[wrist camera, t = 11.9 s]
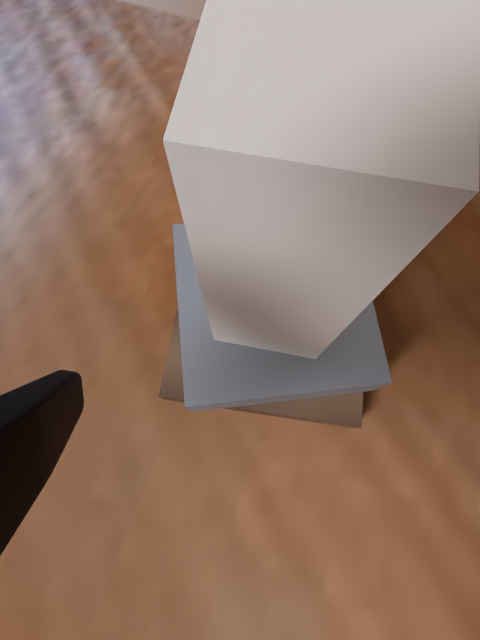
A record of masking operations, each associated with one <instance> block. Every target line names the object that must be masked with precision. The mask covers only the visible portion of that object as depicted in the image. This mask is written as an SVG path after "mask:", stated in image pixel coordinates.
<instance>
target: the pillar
mask: <svg viewBox="0 0 480 640" xmlns="http://www.w3.org/2000/svg"><path fill="white" fill-rule="evenodd" d="M163 143H164V147H165V151H166V155H167V159H168V163H169V166H170V170H171V174H172V178H173V182H174V186H175V190H176V194H177V198H178V202H179V206H180V210H181V214H182V217H183V221H184V225H185V229H186V233H187V237H188V241H189V245H190V249H191V253H192V257H193V261H194V264H195V268H196V272H197V276H198V280H199V284H200V288H201V292H202V296H203V300H204V304H205V308H206V311H207V315H208V319H209V323H210V327H211V331H212V335H213V339H214V340H217V341H222V342H228V343H233V344H238V345H243V346H249V347H254V348H259V349H264V350H270V351H275V352H280V353H286V354H291V355H296V356H302V357H307V358H312V359H316V358H317V357H318V356H319V355H320V354H321V353H322V352H323V351H324V350H325V349H326V348H327V347H328V346H329V345H330V344H331V343H332V342H333V341H334V340H335V339H336V338H337V337H338V336H339V335H340V333H341V332H342V331H343V330H344V329H345V328H346V327H347V326H348V325H349V324H350V323H351V322H352V321H353V320H354V319H355V318H356V317H357V316H358V315H359V314H360V313H361V312H362V311H363V310H364V309H365V308H366V307H367V306H368V305H369V304H370V303H371V302H372V301H373V300H374V299H375V298H376V297H377V296H378V295H379V294H380V293H381V291H382V290H383V289H384V288H385V287H386V286H387V285H388V284H389V283H390V282H391V281H392V280H393V279H394V278H395V277H396V276H397V275H398V274H399V273H400V272H401V271H402V270H403V269H404V268H405V267H406V266H407V265H408V264H409V263H410V262H411V261H412V260H413V259H414V258H415V257H416V256H417V255H418V254H419V253H420V252H421V251H422V250H423V248H424V247H425V246H426V245H427V244H428V243H429V242H430V241H431V240H432V239H433V238H434V237H435V236H436V235H437V234H438V233H439V232H440V231H441V230H442V229H443V228H444V227H445V226H446V225H447V224H448V223H449V222H450V221H451V220H452V219H453V218H454V217H455V216H456V215H457V214H458V213H459V212H460V211H461V210H462V209H463V208H464V206H465V205H466V204H467V203H468V202H469V201H470V200H471V199H472V198H473V197H474V196H475V195H476V194H477V193H478V192H479V145H480V0H206V3H205V6H204V10H203V13H202V16H201V19H200V22H199V26H198V29H197V32H196V35H195V38H194V42H193V45H192V48H191V51H190V55H189V58H188V61H187V64H186V67H185V71H184V74H183V77H182V80H181V83H180V87H179V90H178V93H177V96H176V99H175V103H174V106H173V109H172V112H171V115H170V119H169V122H168V125H167V128H166V131H165V135H164V138H163Z"/></svg>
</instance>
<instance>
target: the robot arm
mask: <svg viewBox="0 0 480 640" xmlns="http://www.w3.org/2000/svg"><path fill="white" fill-rule="evenodd" d="M83 407H84V398H83V388H82V379H81V376H80V374H79V373H77V372H73V371H67V370H58V371H56V372H54V373H51V374H49V375H47V376H44V377H42V378H40V379H37V380H35V381H33V382H30V383H28V384H26V385H23V386H21V387H19V388H16V389H14V390H12V391H9V392H7V393H5V394H2V395H0V555H1V554H2V552H3V551H4V549H5V548H6V546H7V544H8V543H9V541H10V540H11V538H12V536H13V535H14V533H15V532H16V530H17V528H18V527H19V525H20V524H21V522H22V521H23V519H24V517H25V516H26V514H27V513H28V511H29V509H30V508H31V506H32V505H33V503H34V501H35V500H36V498H37V497H38V495H39V494H40V492H41V490H42V489H43V487H44V486H45V484H46V482H47V481H48V479H49V477H50V476H51V474H52V472H53V470H54V468H55V466H56V464H57V462H58V460H59V458H60V456H61V454H62V452H63V450H64V448H65V446H66V444H67V442H68V440H69V438H70V436H71V434H72V432H73V430H74V428H75V425H76V423H77V421H78V419H79V417H80V415H81V413H82V411H83Z"/></svg>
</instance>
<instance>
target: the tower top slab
mask: <svg viewBox="0 0 480 640" xmlns="http://www.w3.org/2000/svg"><path fill="white" fill-rule="evenodd" d="M173 239H174V254H175V269H176V284H177V299H178V314H179V329H180V343H181V358H182V373H183V388H184V403H185V408H187V409H189V410H190V411H192V412H195V411H204V410H212V409H221V408H229V407H238V406H246V405H255V404H263V403H272V402H280V401H289V400H297V399H306V398H314V397H323V396H331V395H340V394H348V393H357V392H365V391H374V390H376V389H379V388H381V387H383V386H386V385H388V384H391V383H392V379H391V375H390V371H389V367H388V363H387V358H386V354H385V350H384V346H383V342H382V337H381V333H380V329H379V325H378V320H377V316H376V312H375V308H374V304H373V301H372V302H371V303H370V304H369V305H368V306H367V307H366V308H365V309H364V310H363V311H362V312H361V313H360V314H359V315H358V316H357V317H356V318H355V319H354V320H353V321H352V322H351V323H350V324H349V325H348V326H347V327H346V328H345V329H344V330H343V331H342V332H341V333H340V335H339V336H338V337H337V338H336V339H335V340H334V341H333V342H332V343H331V344H330V345H329V346H328V347H327V348H326V349H325V350H324V351H323V352H322V353H321V354H320V355H319V356H318V357H317V358H316V359H312V358H307V357H302V356H296V355H291V354H286V353H280V352H275V351H270V350H264V349H259V348H254V347H249V346H243V345H238V344H233V343H228V342H222V341H217V340H214V339H213V335H212V331H211V327H210V323H209V319H208V315H207V311H206V308H205V304H204V300H203V296H202V292H201V288H200V284H199V280H198V276H197V272H196V268H195V264H194V261H193V257H192V253H191V249H190V245H189V241H188V237H187V233H186V229H185V225H184V223H183V224H174V225H173Z"/></svg>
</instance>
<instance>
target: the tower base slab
mask: <svg viewBox="0 0 480 640" xmlns="http://www.w3.org/2000/svg"><path fill="white" fill-rule="evenodd" d="M159 397H161V398H163V399H165V400H171V401H177V402H184V388H183V373H182V358H181V343H180V329H179V314H178V309H177V314H176V318H175V323H174V328H173V333H172V337H171V342H170V347H169V352H168V356H167V361H166V366H165V371H164V375H163V380H162V385H161V390H160V394H159ZM362 408H363V392H357V393H348V394H340V395H331V396H323V397H314V398H306V399H297V400H289V401H280V402H272V403H263V404H255V405H246V406H238V407H229V408H223V409H230V410H236V411H243V412H250V413H256V414H263V415H269V416H276V417H282V418H289V419H295V420H302V421H309V422H315V423H322V424H328V425H335V426H341V427H348V428H358V427H362Z"/></svg>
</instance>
